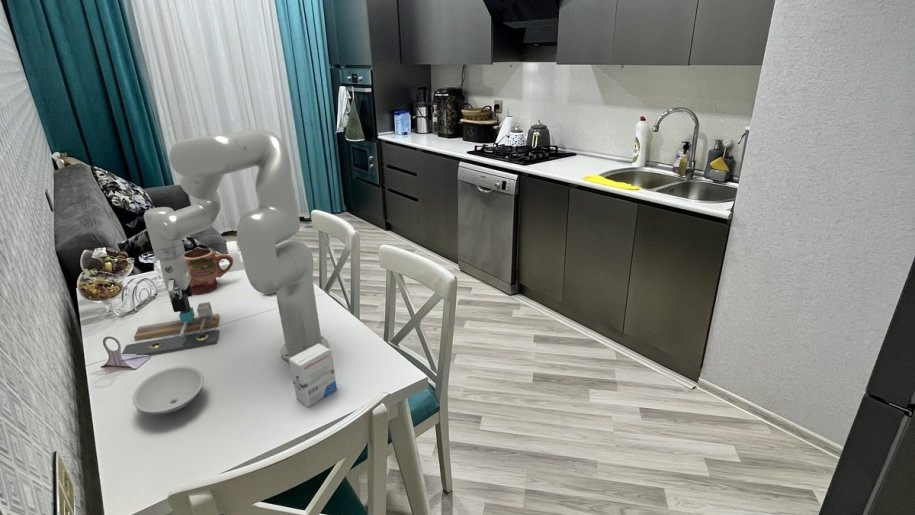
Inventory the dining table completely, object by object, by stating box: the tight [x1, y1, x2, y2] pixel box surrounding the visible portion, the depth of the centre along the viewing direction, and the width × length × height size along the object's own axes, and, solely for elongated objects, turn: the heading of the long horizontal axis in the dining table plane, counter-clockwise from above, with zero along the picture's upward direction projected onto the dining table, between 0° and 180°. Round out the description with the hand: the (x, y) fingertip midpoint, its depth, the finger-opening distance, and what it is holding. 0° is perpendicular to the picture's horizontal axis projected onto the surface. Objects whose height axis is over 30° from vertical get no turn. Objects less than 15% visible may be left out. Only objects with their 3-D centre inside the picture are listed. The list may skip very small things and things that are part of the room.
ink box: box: [288, 343, 338, 408], centre depth 110 cm, size 9×5×12 cm, turn 141°
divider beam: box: [133, 301, 221, 342], centre depth 138 cm, size 13×22×6 cm, turn 109°
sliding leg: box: [178, 294, 195, 339], centre depth 138 cm, size 12×3×9 cm, turn 19°
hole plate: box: [121, 328, 221, 357], centre depth 134 cm, size 7×24×1 cm, turn 109°
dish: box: [132, 365, 205, 415], centre depth 109 cm, size 18×14×5 cm
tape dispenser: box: [219, 240, 245, 274], centre depth 186 cm, size 10×18×11 cm, turn 117°
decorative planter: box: [184, 248, 233, 295], centre depth 167 cm, size 20×12×14 cm, turn 120°
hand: (183, 303), depth 141 cm, fingers open, 9 cm apart
